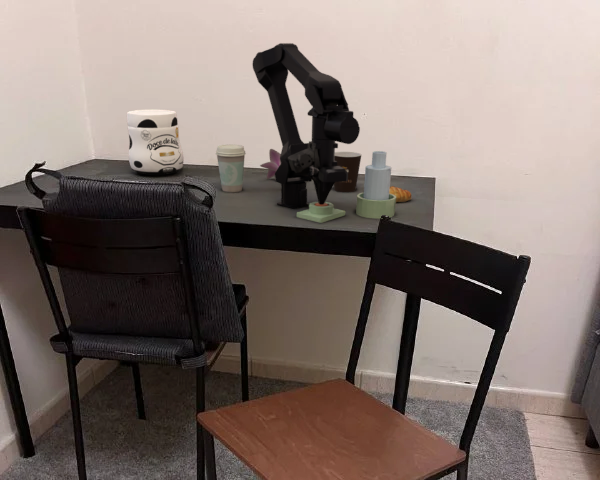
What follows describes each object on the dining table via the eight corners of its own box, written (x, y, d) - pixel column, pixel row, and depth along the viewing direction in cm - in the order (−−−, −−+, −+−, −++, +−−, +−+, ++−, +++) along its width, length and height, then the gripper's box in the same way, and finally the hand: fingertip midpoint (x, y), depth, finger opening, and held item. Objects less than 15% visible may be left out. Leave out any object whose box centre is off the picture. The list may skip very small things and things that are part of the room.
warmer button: (312, 211, 157) (312, 204, 156) (320, 208, 159) (320, 201, 158) (322, 213, 155) (322, 206, 154) (329, 211, 157) (330, 204, 156)
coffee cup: (211, 189, 181) (209, 146, 175) (233, 185, 187) (231, 143, 180) (231, 194, 176) (229, 150, 170) (252, 190, 182) (251, 146, 175)
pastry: (406, 197, 177) (408, 183, 175) (414, 203, 172) (416, 188, 170) (375, 197, 176) (376, 184, 174) (382, 204, 170) (383, 189, 168)
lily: (307, 184, 194) (302, 153, 193) (294, 175, 183) (289, 143, 182) (272, 194, 198) (267, 164, 198) (257, 185, 187) (252, 154, 187)
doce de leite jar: (169, 180, 192) (164, 116, 182) (120, 175, 196) (112, 113, 186) (193, 169, 206) (189, 110, 197) (146, 166, 210) (140, 108, 201)
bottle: (357, 211, 160) (361, 152, 153) (372, 207, 164) (376, 149, 157) (378, 215, 157) (382, 155, 149) (392, 211, 161) (397, 152, 153)
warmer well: (348, 213, 160) (349, 196, 158) (370, 206, 167) (371, 189, 165) (380, 221, 155) (381, 202, 152) (401, 213, 161) (403, 196, 159)
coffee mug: (365, 189, 184) (367, 154, 179) (346, 194, 179) (348, 158, 174) (335, 183, 191) (336, 149, 186) (317, 187, 186) (318, 152, 180)
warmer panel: (296, 217, 157) (296, 205, 155) (321, 210, 163) (321, 198, 162) (320, 223, 152) (321, 210, 151) (345, 215, 159) (345, 203, 157)
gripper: (279, 133, 153) (279, 197, 161) (304, 145, 138) (303, 215, 146) (321, 132, 156) (319, 195, 165) (350, 143, 141) (346, 212, 150)
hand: (321, 204), depth 156 cm, fingers closed, pressing on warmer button
